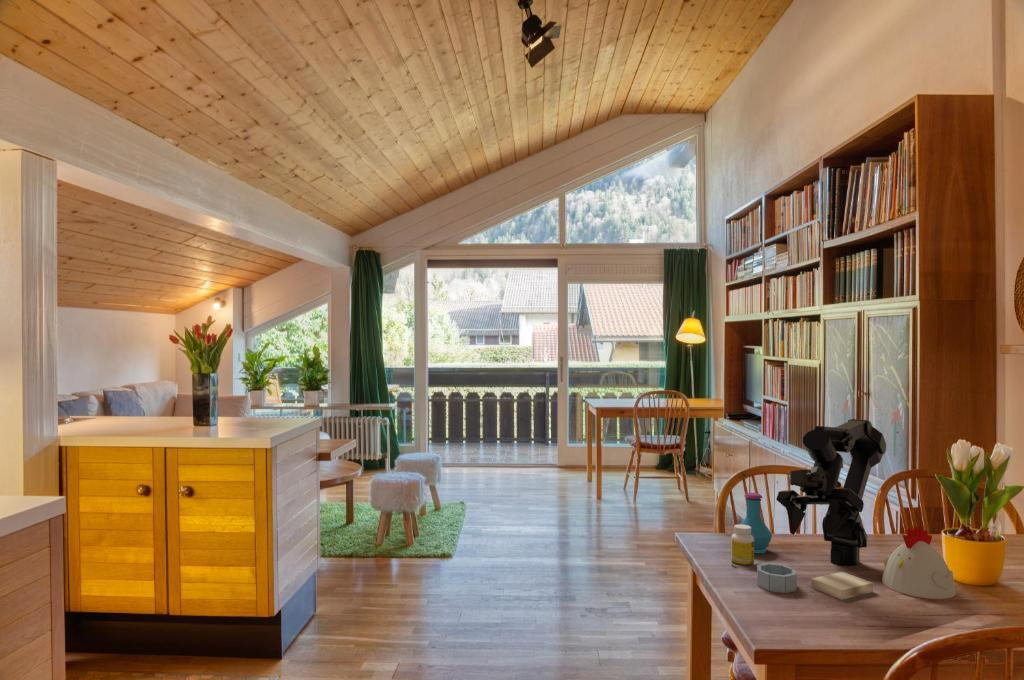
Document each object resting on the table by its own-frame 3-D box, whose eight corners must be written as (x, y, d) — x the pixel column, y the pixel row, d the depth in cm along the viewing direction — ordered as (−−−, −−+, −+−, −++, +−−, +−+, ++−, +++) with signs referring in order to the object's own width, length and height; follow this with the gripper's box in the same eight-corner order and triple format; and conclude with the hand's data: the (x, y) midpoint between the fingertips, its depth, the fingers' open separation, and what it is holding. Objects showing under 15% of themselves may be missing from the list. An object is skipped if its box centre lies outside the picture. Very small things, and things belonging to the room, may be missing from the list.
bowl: (775, 583, 147) (775, 561, 147) (804, 595, 140) (803, 572, 140) (749, 588, 143) (749, 566, 144) (777, 601, 136) (777, 578, 136)
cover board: (842, 580, 145) (842, 571, 145) (872, 592, 138) (873, 582, 138) (811, 587, 140) (811, 578, 140) (841, 599, 133) (841, 590, 133)
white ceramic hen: (868, 587, 145) (867, 521, 145) (910, 579, 150) (910, 515, 150) (926, 611, 132) (926, 538, 132) (971, 601, 137) (971, 532, 137)
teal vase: (768, 557, 165) (768, 499, 165) (731, 551, 169) (731, 495, 170) (774, 548, 172) (774, 492, 173) (739, 542, 177) (739, 488, 177)
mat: (837, 585, 146) (837, 578, 146) (878, 601, 137) (878, 594, 137) (806, 592, 141) (806, 585, 141) (847, 609, 132) (847, 602, 132)
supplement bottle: (755, 570, 155) (755, 530, 155) (732, 568, 156) (732, 528, 157) (752, 562, 161) (752, 524, 161) (729, 561, 162) (729, 522, 162)
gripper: (770, 457, 154) (752, 514, 146) (839, 451, 138) (823, 514, 131) (799, 482, 156) (783, 539, 149) (871, 479, 140) (857, 543, 133)
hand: (809, 534), depth 141 cm, fingers open, 9 cm apart
